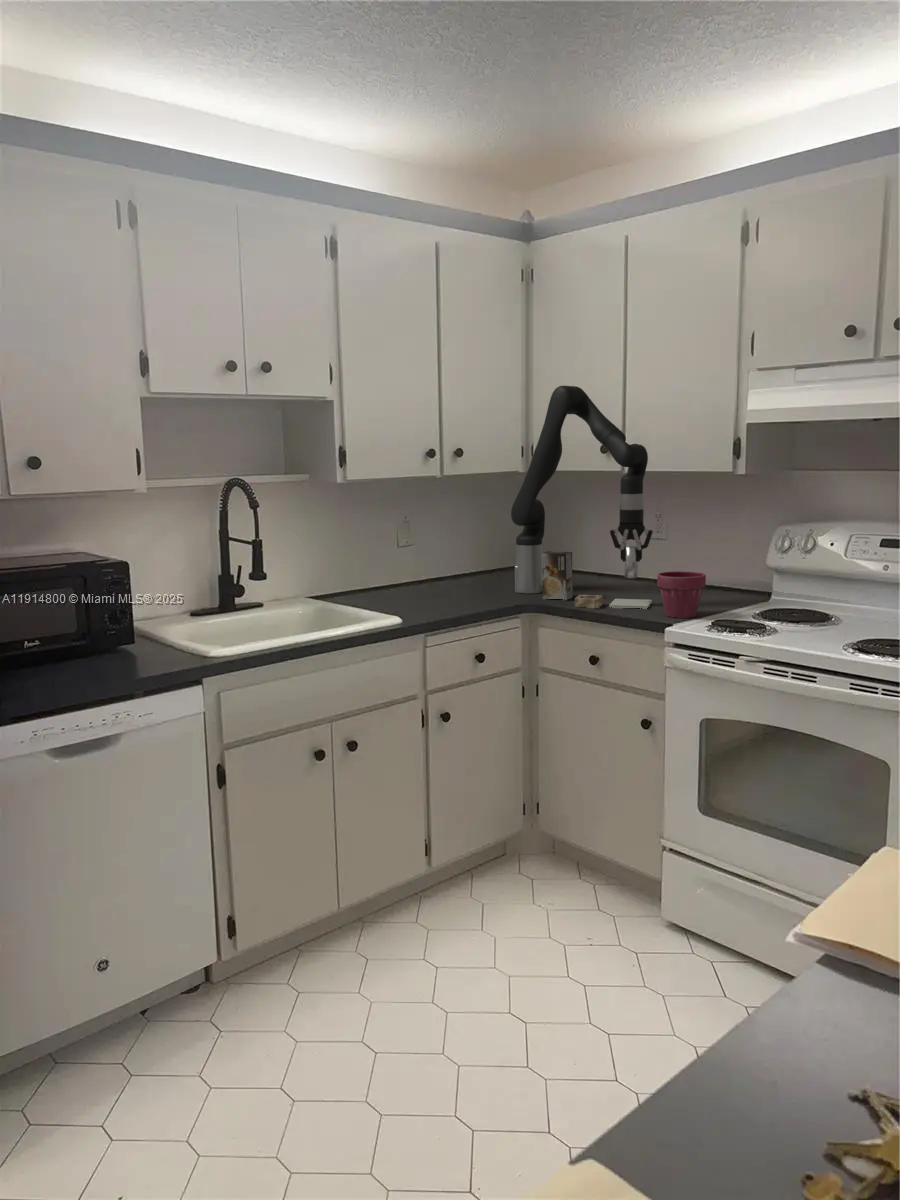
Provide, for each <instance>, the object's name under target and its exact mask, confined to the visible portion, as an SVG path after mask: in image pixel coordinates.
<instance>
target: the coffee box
mask: <svg viewBox="0 0 900 1200" xmlns="http://www.w3.org/2000/svg"><path fill="white" fill-rule="evenodd" d="M573 594H574V593H573V551H560V550H559V551H555V550H553V551H551V550H547V551H544V552H542V600H546V599H563V600H562V601H566V600H567V599H569V600H571V599H573V598H574V596H573ZM572 597H573V598H572ZM570 598H571V599H570ZM564 599H565V600H564ZM567 601H568V600H567Z"/></svg>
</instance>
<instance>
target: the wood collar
mask: <svg viewBox="0 0 900 1200" xmlns="http://www.w3.org/2000/svg"><path fill="white" fill-rule="evenodd" d="M602 605H603V595H601V594H600V595H596V594H595V595H594V594H578V596H576V597H575V598H574V608H575V607H586V608H585V609H594V608H598V609H600V608H601V607H602Z"/></svg>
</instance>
